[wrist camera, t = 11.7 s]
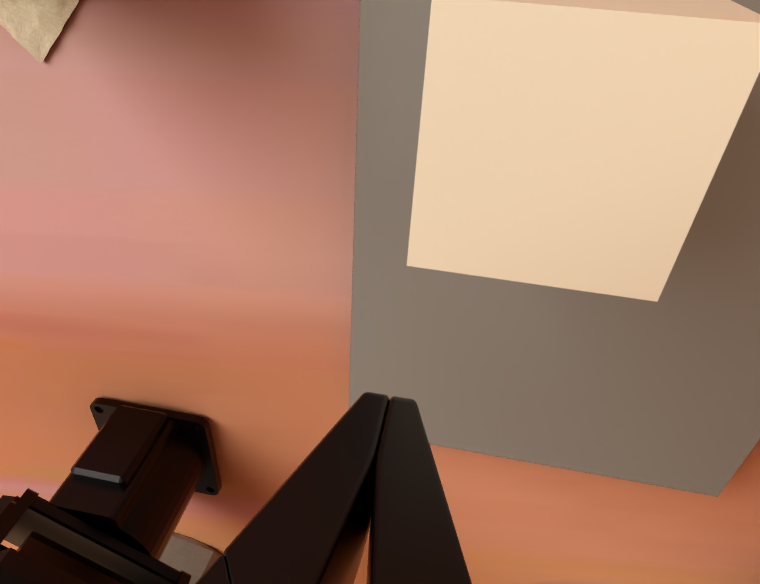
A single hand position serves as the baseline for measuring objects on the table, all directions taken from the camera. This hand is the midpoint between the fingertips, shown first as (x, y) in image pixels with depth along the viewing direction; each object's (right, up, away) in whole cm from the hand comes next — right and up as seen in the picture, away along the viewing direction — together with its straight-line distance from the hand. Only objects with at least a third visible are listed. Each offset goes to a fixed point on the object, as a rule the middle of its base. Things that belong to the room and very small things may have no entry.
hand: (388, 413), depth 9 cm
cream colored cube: (+4, +7, +6) cm, 10 cm away
